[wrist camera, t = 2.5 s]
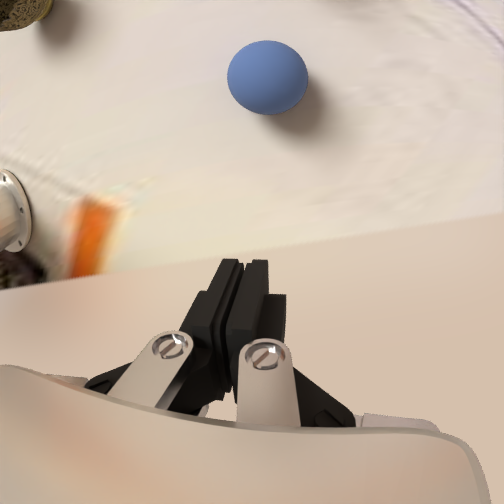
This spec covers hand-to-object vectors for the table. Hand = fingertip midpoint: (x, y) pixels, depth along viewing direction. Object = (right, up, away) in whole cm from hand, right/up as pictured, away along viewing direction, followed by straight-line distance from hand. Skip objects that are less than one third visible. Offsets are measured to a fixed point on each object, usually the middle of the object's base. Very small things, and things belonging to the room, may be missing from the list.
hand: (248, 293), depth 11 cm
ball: (+1, +15, +8) cm, 17 cm away
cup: (-25, +31, +8) cm, 40 cm away
